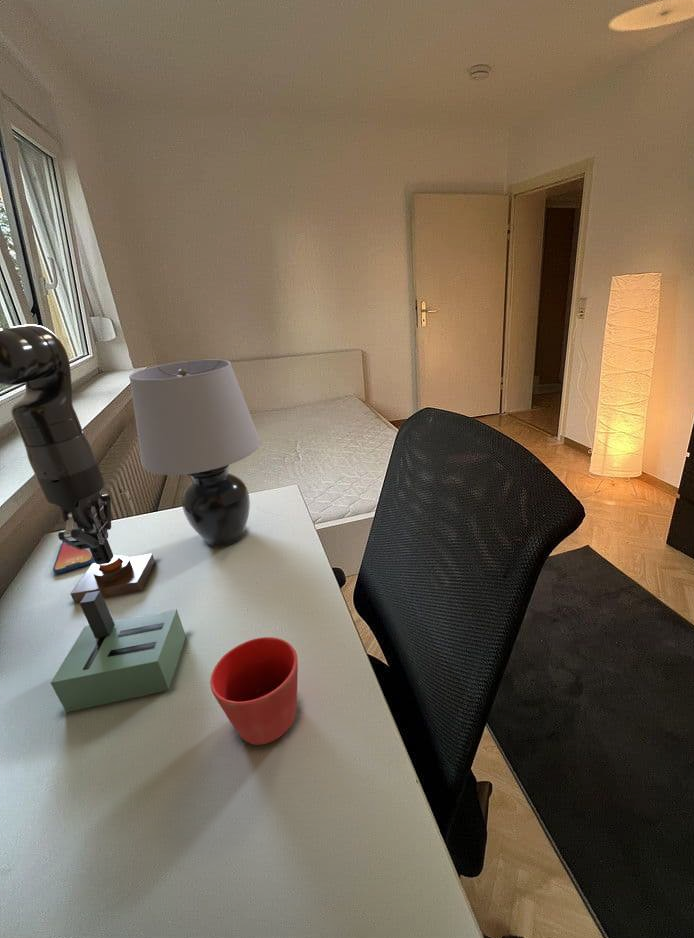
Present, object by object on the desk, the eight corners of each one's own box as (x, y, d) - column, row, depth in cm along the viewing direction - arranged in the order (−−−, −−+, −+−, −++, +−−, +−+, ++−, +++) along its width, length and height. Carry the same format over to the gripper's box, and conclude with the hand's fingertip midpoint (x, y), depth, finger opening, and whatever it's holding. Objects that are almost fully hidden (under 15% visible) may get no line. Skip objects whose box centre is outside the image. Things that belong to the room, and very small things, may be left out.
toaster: (66, 712, 64) (49, 682, 61) (97, 653, 74) (84, 625, 71) (169, 690, 66) (157, 660, 64) (186, 636, 76) (176, 608, 74)
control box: (74, 602, 86) (66, 586, 84) (95, 571, 95) (89, 556, 93) (140, 591, 88) (134, 574, 86) (155, 561, 97) (150, 546, 95)
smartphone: (100, 533, 110) (98, 529, 109) (94, 564, 97) (92, 559, 97) (64, 543, 107) (62, 539, 106) (53, 575, 94) (51, 571, 94)
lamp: (178, 522, 112) (129, 365, 96) (274, 503, 119) (244, 352, 103) (162, 578, 91) (96, 390, 75) (280, 552, 98) (243, 372, 82)
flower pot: (261, 675, 68) (248, 627, 64) (322, 697, 64) (312, 647, 60) (209, 739, 59) (190, 688, 55) (276, 769, 55) (261, 716, 51)
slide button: (95, 638, 69) (79, 603, 66) (101, 627, 71) (86, 592, 68) (109, 636, 69) (93, 600, 66) (115, 624, 71) (100, 590, 68)
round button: (98, 573, 88) (95, 566, 87) (105, 563, 91) (102, 556, 91) (117, 570, 89) (115, 563, 88) (124, 560, 92) (121, 553, 91)
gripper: (60, 453, 71) (97, 543, 78) (11, 489, 59) (60, 592, 66) (110, 446, 72) (142, 536, 79) (73, 480, 60) (115, 582, 67)
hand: (105, 561), depth 73 cm, fingers closed
